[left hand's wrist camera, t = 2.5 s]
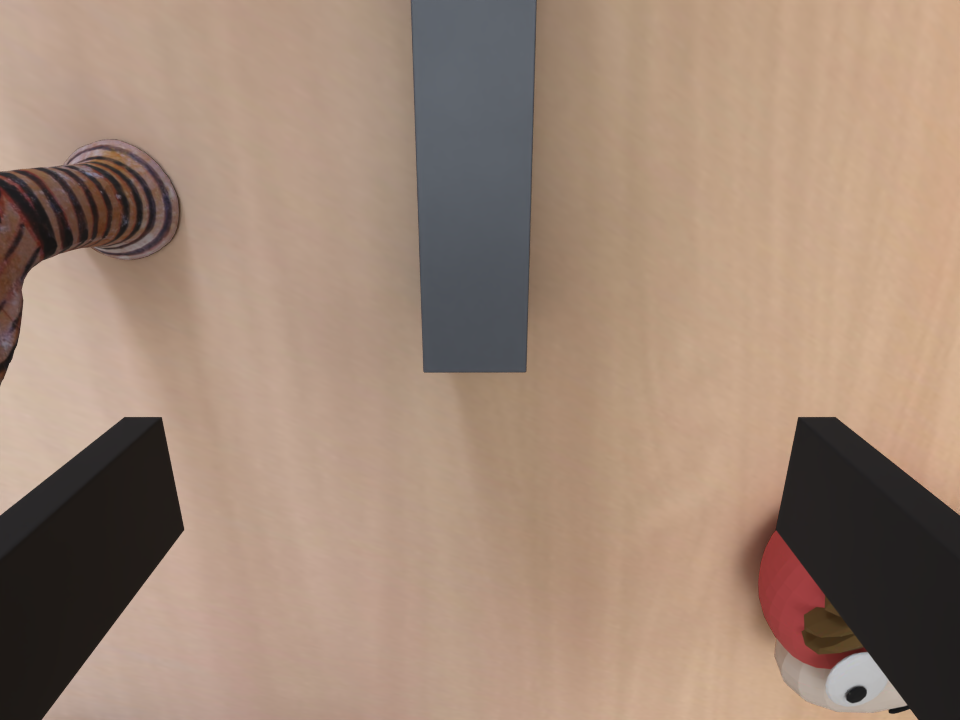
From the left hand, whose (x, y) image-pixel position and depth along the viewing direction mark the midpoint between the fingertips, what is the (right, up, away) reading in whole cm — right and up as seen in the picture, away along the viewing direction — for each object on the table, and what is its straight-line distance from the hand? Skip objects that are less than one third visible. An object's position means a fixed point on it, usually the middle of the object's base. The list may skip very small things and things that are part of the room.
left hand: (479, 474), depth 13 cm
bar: (0, +17, +22) cm, 28 cm away
